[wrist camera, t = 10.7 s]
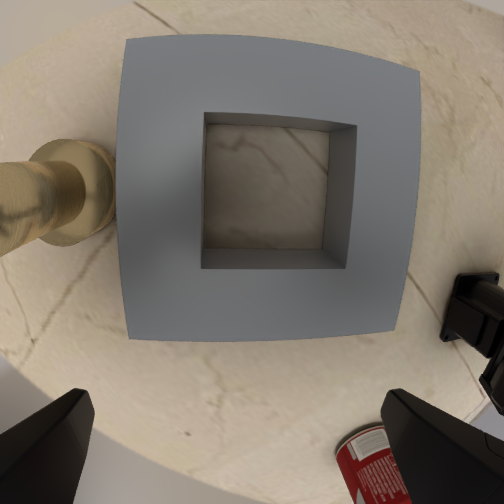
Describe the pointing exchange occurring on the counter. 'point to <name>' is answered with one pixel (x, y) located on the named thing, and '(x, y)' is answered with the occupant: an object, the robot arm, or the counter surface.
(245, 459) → the counter surface
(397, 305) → the housing
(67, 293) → the counter surface
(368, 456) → the soda can
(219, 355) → the counter surface
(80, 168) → the stepped shaft
